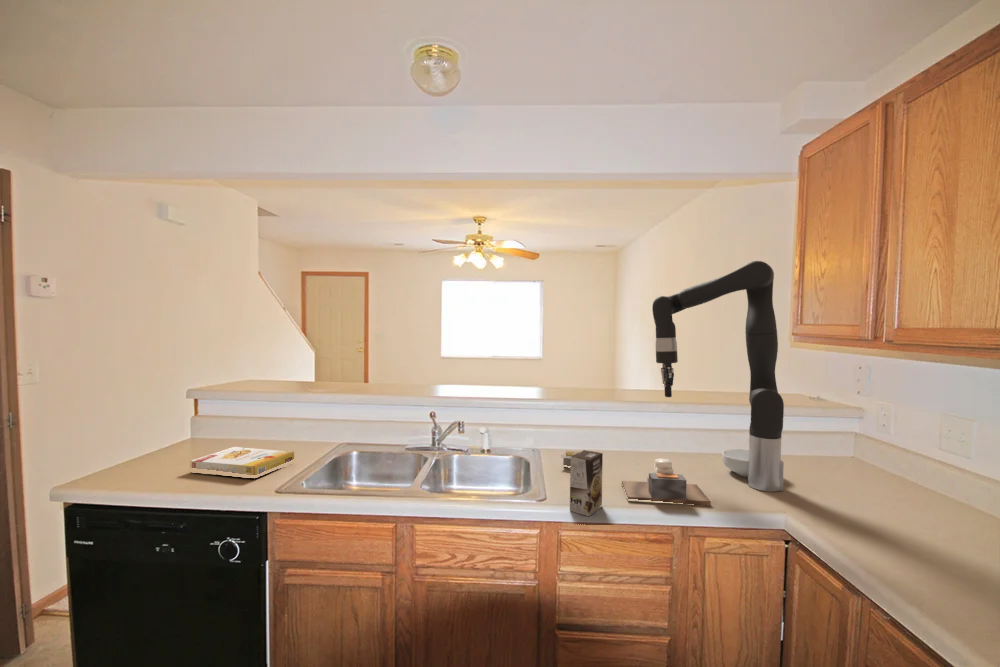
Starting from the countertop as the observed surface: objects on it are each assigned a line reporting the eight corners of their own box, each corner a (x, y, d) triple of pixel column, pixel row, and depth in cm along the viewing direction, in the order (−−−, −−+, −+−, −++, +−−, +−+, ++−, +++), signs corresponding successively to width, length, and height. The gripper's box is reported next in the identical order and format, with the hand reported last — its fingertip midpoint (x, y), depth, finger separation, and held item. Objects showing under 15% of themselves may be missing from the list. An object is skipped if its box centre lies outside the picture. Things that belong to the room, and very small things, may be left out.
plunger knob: (669, 486, 147) (669, 458, 146) (673, 492, 142) (673, 463, 141) (653, 485, 147) (653, 458, 147) (656, 491, 142) (657, 463, 142)
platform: (554, 461, 178) (554, 445, 178) (600, 467, 172) (601, 450, 172) (547, 471, 167) (547, 453, 167) (596, 477, 161) (596, 459, 161)
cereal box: (255, 465, 155) (188, 459, 161) (255, 481, 155) (188, 474, 161) (295, 450, 174) (234, 444, 181) (295, 464, 174) (234, 458, 181)
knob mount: (696, 488, 149) (696, 465, 149) (710, 506, 135) (710, 480, 135) (621, 485, 152) (622, 461, 152) (628, 501, 138) (628, 476, 138)
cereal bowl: (761, 467, 172) (762, 449, 171) (784, 483, 155) (785, 462, 155) (714, 465, 173) (715, 447, 173) (732, 481, 157) (733, 461, 156)
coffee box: (589, 516, 128) (589, 460, 127) (568, 511, 131) (569, 455, 131) (602, 506, 135) (603, 452, 134) (583, 501, 139) (583, 448, 138)
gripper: (680, 350, 161) (682, 399, 161) (673, 349, 174) (675, 394, 173) (658, 351, 162) (660, 399, 162) (653, 350, 175) (655, 394, 175)
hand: (668, 396), depth 168 cm, fingers closed
